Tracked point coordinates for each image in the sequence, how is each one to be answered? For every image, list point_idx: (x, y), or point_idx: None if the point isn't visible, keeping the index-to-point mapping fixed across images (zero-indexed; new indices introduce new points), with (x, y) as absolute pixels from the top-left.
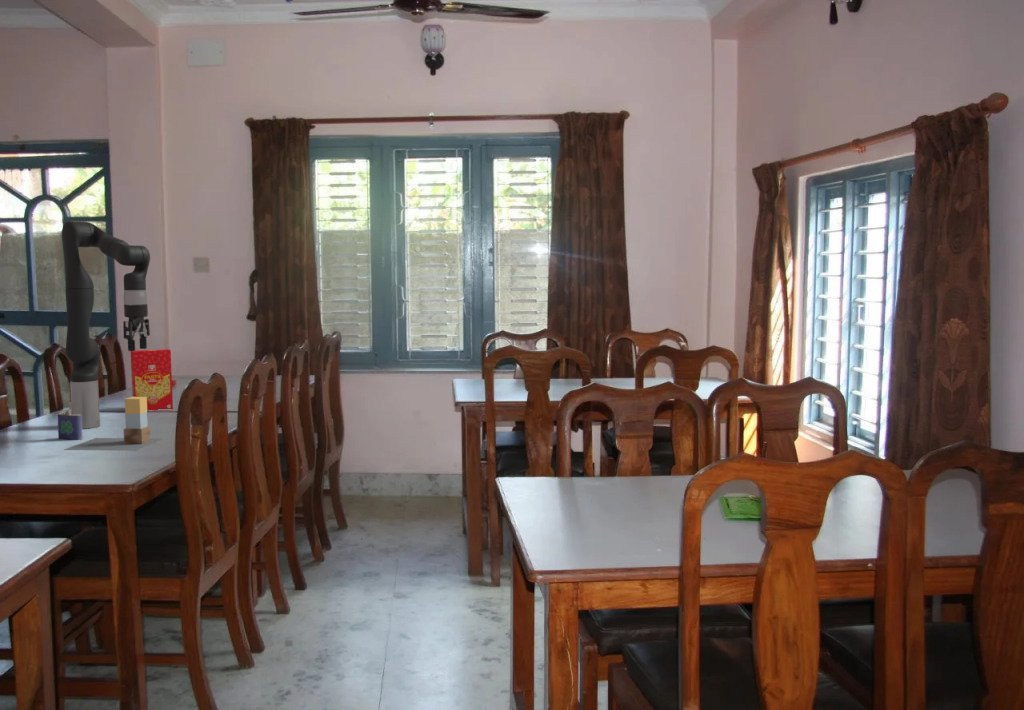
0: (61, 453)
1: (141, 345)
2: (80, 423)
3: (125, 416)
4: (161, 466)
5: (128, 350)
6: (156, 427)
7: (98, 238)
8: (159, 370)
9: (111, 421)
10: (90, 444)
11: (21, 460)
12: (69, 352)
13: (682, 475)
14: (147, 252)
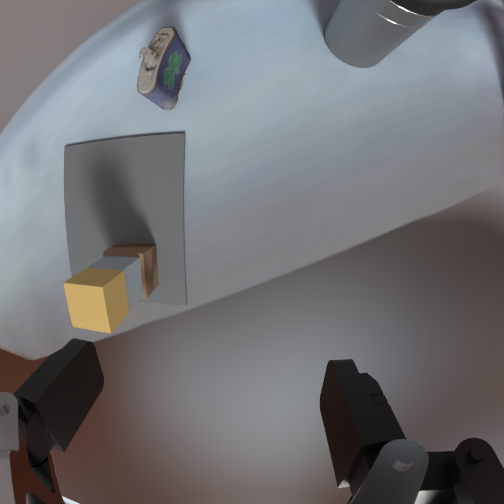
0: (50, 158)
1: (332, 393)
2: (151, 99)
3: (90, 265)
4: (28, 354)
5: (76, 339)
6: (355, 217)
7: None
8: None
9: (426, 78)
10: (108, 168)
11: (14, 132)
12: None
13: None
14: None
